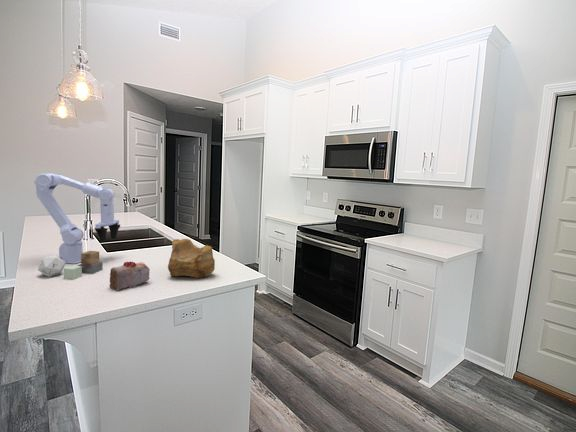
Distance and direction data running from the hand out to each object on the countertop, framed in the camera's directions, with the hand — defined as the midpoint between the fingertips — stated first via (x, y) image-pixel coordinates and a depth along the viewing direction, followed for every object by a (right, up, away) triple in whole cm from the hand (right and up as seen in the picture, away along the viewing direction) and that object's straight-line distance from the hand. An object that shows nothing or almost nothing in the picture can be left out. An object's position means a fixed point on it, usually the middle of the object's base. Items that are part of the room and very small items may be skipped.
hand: (108, 240), depth 161 cm
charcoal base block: (+1, -13, -16) cm, 20 cm away
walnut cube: (+1, -9, -16) cm, 19 cm away
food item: (+26, -16, -30) cm, 43 cm away
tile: (-6, -12, -11) cm, 17 cm away
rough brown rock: (+43, -15, -15) cm, 48 cm away
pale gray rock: (-12, -13, -23) cm, 29 cm away
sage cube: (-1, -14, -25) cm, 28 cm away
